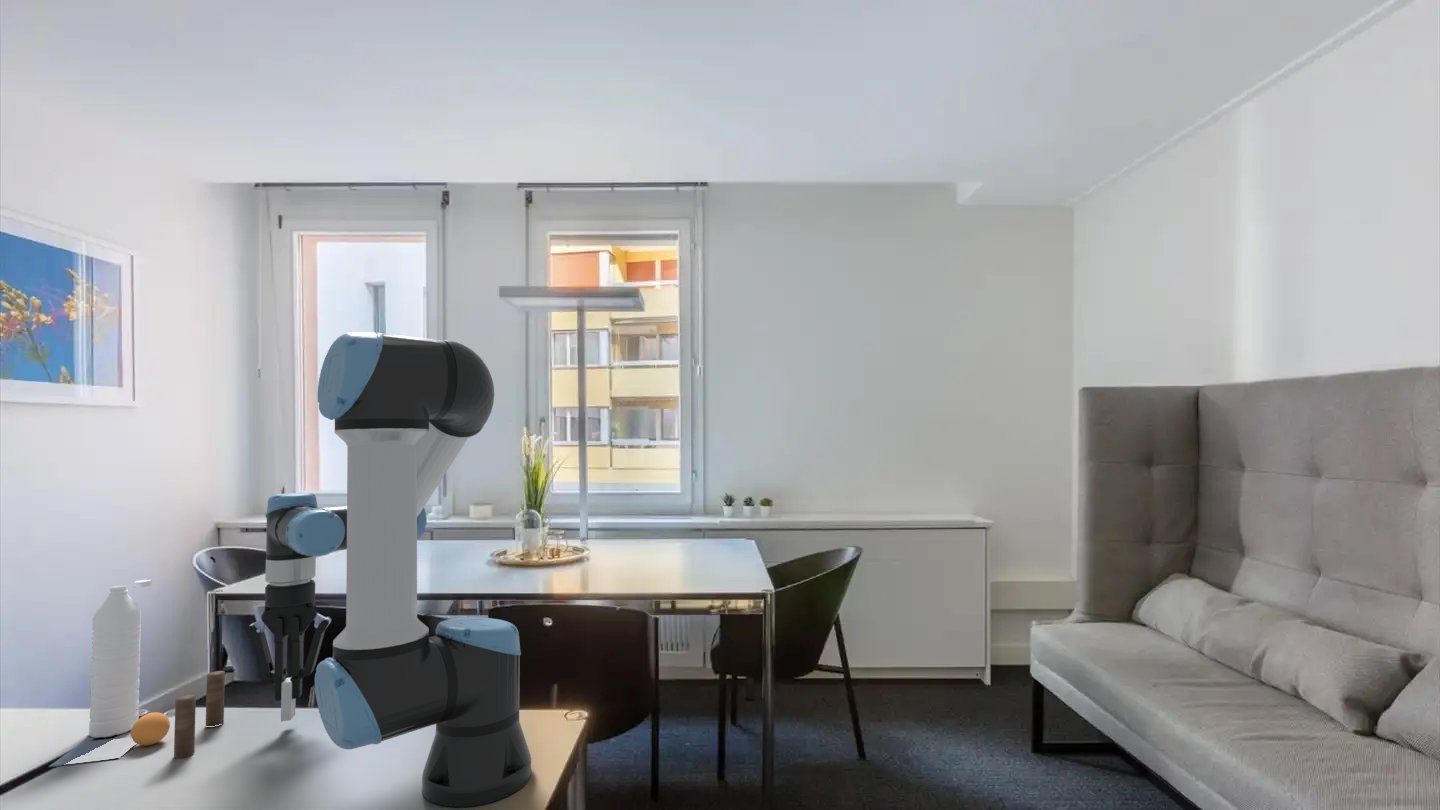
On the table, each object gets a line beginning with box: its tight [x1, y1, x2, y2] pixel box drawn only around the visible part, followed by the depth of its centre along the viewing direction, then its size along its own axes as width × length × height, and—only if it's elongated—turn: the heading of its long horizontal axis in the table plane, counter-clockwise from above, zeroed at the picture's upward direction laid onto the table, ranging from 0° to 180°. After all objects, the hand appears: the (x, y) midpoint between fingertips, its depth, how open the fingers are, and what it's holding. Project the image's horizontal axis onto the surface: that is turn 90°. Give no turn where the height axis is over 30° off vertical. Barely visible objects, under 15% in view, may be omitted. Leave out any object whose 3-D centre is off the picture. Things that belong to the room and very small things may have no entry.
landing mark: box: [48, 737, 116, 768], centre depth 112 cm, size 9×9×1 cm
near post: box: [173, 694, 197, 759], centre depth 111 cm, size 3×3×9 cm
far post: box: [205, 670, 226, 727], centre depth 122 cm, size 3×3×9 cm
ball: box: [130, 711, 171, 746], centre depth 115 cm, size 5×5×5 cm
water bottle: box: [88, 579, 152, 739], centre depth 122 cm, size 9×6×25 cm
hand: (288, 717), depth 120 cm, fingers closed
